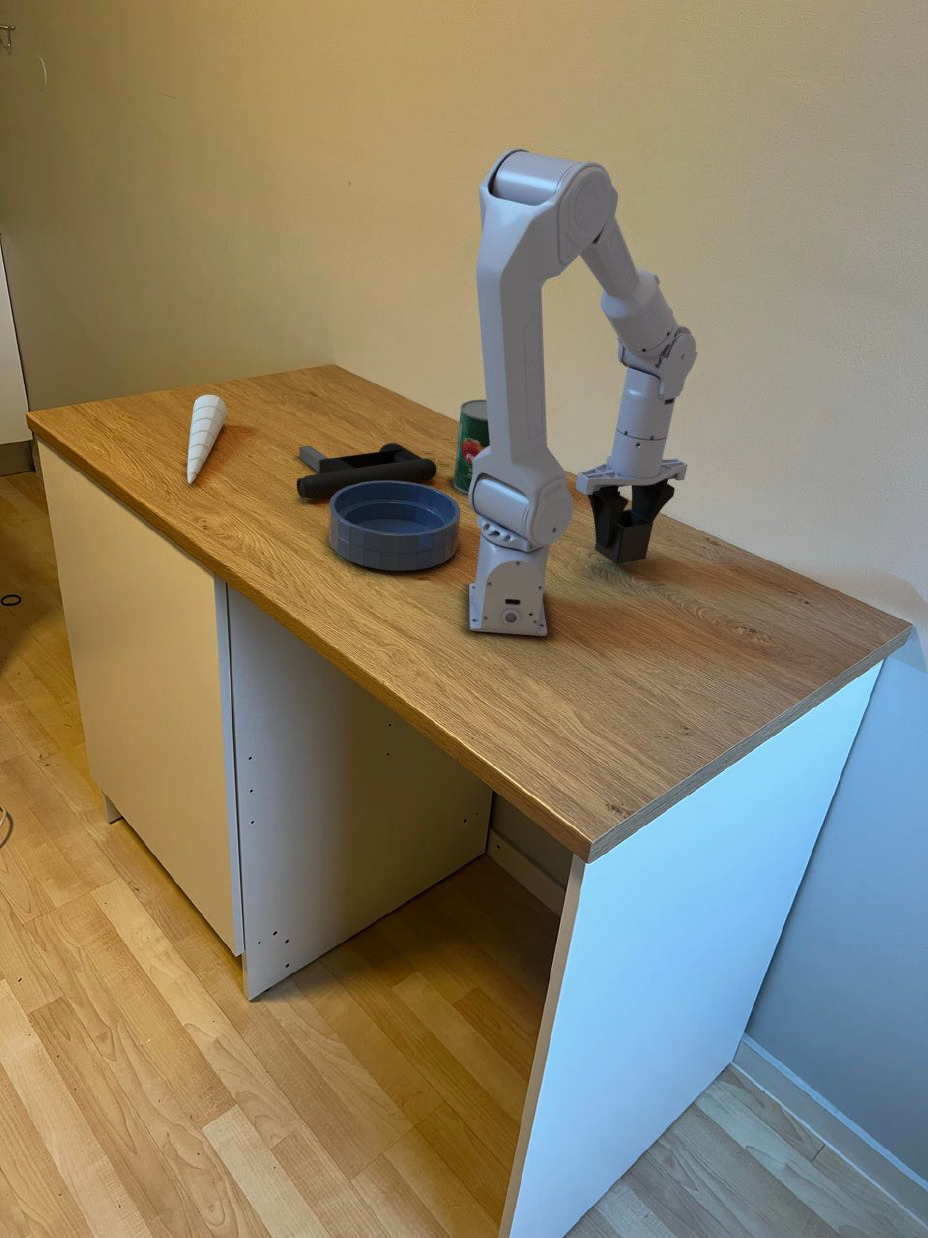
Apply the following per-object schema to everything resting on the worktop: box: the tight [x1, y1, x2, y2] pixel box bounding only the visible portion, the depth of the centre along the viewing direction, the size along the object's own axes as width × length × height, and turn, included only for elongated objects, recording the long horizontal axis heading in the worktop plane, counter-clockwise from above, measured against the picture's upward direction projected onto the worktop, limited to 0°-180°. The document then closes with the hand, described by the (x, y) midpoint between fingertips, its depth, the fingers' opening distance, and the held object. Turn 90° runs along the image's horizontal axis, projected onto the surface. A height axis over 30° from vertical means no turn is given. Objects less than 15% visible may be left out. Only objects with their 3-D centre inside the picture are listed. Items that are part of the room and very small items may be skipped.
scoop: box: [594, 508, 654, 566], centre depth 111 cm, size 8×4×5 cm, turn 30°
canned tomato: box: [452, 399, 490, 495], centre depth 126 cm, size 8×8×11 cm
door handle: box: [296, 442, 438, 500], centre depth 127 cm, size 3×20×16 cm
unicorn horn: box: [186, 394, 228, 485], centre depth 128 cm, size 5×24×5 cm, turn 3°
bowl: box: [327, 481, 461, 572], centre depth 110 cm, size 15×15×5 cm
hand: (619, 541), depth 110 cm, fingers closed on scoop, 4 cm apart
